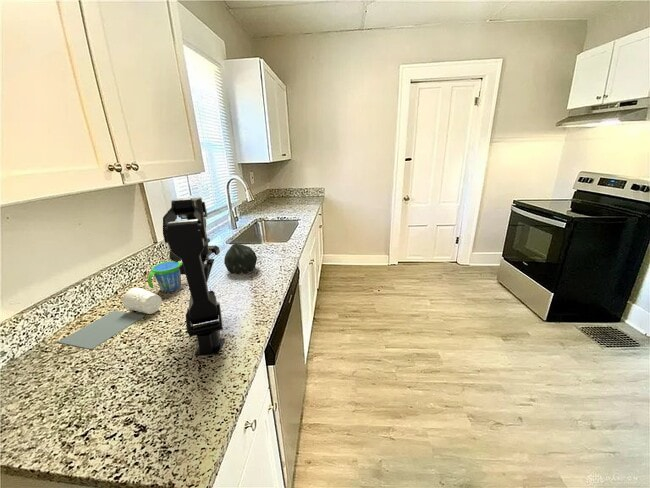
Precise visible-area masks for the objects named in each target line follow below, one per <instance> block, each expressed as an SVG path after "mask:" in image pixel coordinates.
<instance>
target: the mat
mask: <svg viewBox="0 0 650 488" xmlns="http://www.w3.org/2000/svg"><path fill="white" fill-rule="evenodd" d="M144 317H146V315H145V314H140V313H139V314H138V313H132V312H126V311H119V310H112V311H110V312H109V313H108V314H105V315H104V316H102V317H100V318H98V319H96V320H95V321H93V322H91V323H89V324H87V325H86V326H84V327H81V328H80V329H79V330H76V331H74V332H72V333H71V334H69V335H67V336H66V337H64V338H61V339H60V340H57V344H63V345H68V346H73V347H77V348H82V349H88V350H94V349H96V348H97V347H99V346H100V345H102V344H103V343H105V342H106V341H108V340H110V339H111V338H112V337H115V336H116V335H117V334H119V333H120V332H122V331H123V330H125V329H127V328H129V327H130V326H132V325H134V324H135V323H137V322H138V321H139V320H141V319H143V318H144Z"/></svg>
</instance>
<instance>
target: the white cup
mask: <svg viewBox="0 0 650 488" xmlns="http://www.w3.org/2000/svg"><path fill="white" fill-rule="evenodd" d="M121 303H122V305H123V307H124V308H125V309H128V310H131V311H134V312H138V313H144V314H149V315H152V314H154V313H156V312H157V311H158V310H159V309H160V308H161V305H162V297H161V296H159V295H158V294H156V293H153V292H151V291H149V290H146V289H143V288H140V287H132V288H130V289H128V290H127V291H126V292H125V293H124V294H123V296H122V302H121Z"/></svg>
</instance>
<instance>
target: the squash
mask: <svg viewBox="0 0 650 488" xmlns="http://www.w3.org/2000/svg"><path fill="white" fill-rule="evenodd" d="M257 261H258V257H257V253H256V252H255V251H254V250H253V249H252V247H250V246H249V245H245V244H242V243H233V244H232V245H231V246H230V248H229V249H228V250H227V251H226V253H225V256H224V261H223V263H224V266H225V267H226V270H227V272H228V273H230V274H235V275H241V274H248V273H249V272H252V271H254V270H255V267H256V265H257Z"/></svg>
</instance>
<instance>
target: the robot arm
mask: <svg viewBox="0 0 650 488" xmlns="http://www.w3.org/2000/svg"><path fill="white" fill-rule="evenodd" d="M170 202H171V207H170V208H169V210H168V211H167V212H166V213H165V215H164V216H163V217H162V235H163V240H164V242H165V244H167V245H168V248H169V250H170V251H169V252H168V253H169V260H170V261H175V263H176V262H180V261H181V263H183V264H181V266H180V267H179V272H180V274H181V275H185V277H186V281H187V285H188V289H189V293H190V295H189V299H188V300H189V301H188V308H187V311H186V313H185V323H186V324H185V327H186V331H187V334H188V335H189V338H192V337H196V339H197V344H198V347H197V348H196V350H195V352H194V356H210V355H211V356H212V355H213V356H214V355H218V354H220V352H221V349H222V347H223V345H224V343H225V338H224V337H223V338H222V337H220V332H219V331H223V330H224V326H223V325H224V323H223V316H222V309H221V303H220V302H218V301H217V296H216V294H215V292H214V291H213V290H209V287H208V282H209V281H208V280H209V277H210V275H211V271H212V267H213V266H214V262H215V258H211V257H210V256H211V255H212V254H214V256H218V255H219V254H220V247H218V245H209V243H210V242H211V239H210V238H208V235H207V220H206V218H208V211H207V208H206V203H205V200H203V199H202V197H183V198H174V199H172V200H171V201H170ZM178 218H180V220H177V219H178Z"/></svg>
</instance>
